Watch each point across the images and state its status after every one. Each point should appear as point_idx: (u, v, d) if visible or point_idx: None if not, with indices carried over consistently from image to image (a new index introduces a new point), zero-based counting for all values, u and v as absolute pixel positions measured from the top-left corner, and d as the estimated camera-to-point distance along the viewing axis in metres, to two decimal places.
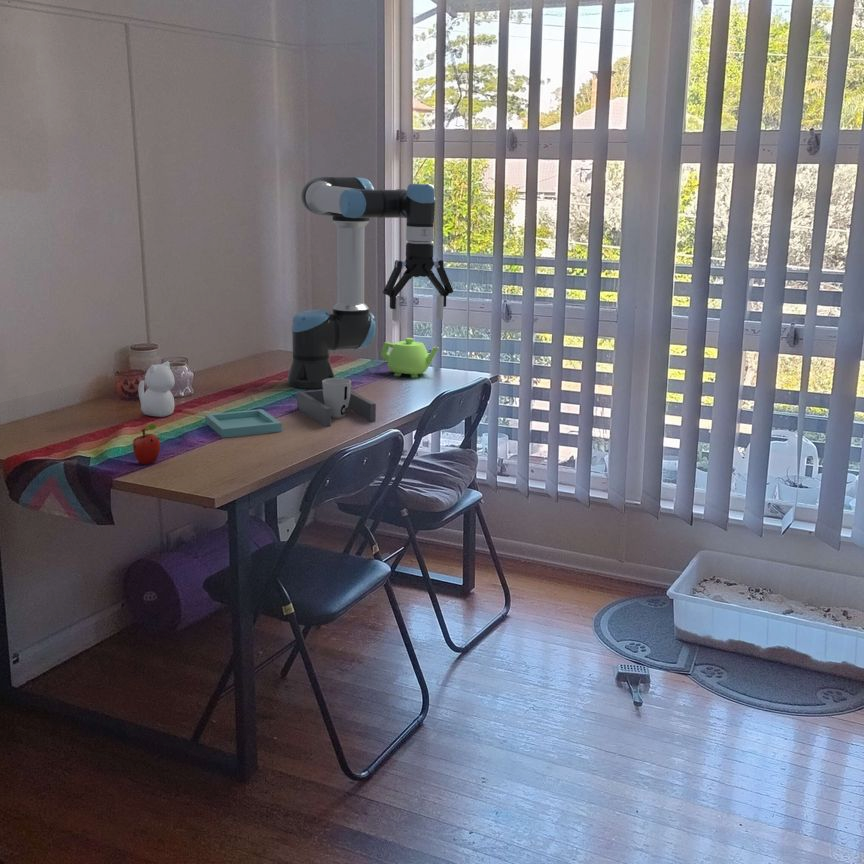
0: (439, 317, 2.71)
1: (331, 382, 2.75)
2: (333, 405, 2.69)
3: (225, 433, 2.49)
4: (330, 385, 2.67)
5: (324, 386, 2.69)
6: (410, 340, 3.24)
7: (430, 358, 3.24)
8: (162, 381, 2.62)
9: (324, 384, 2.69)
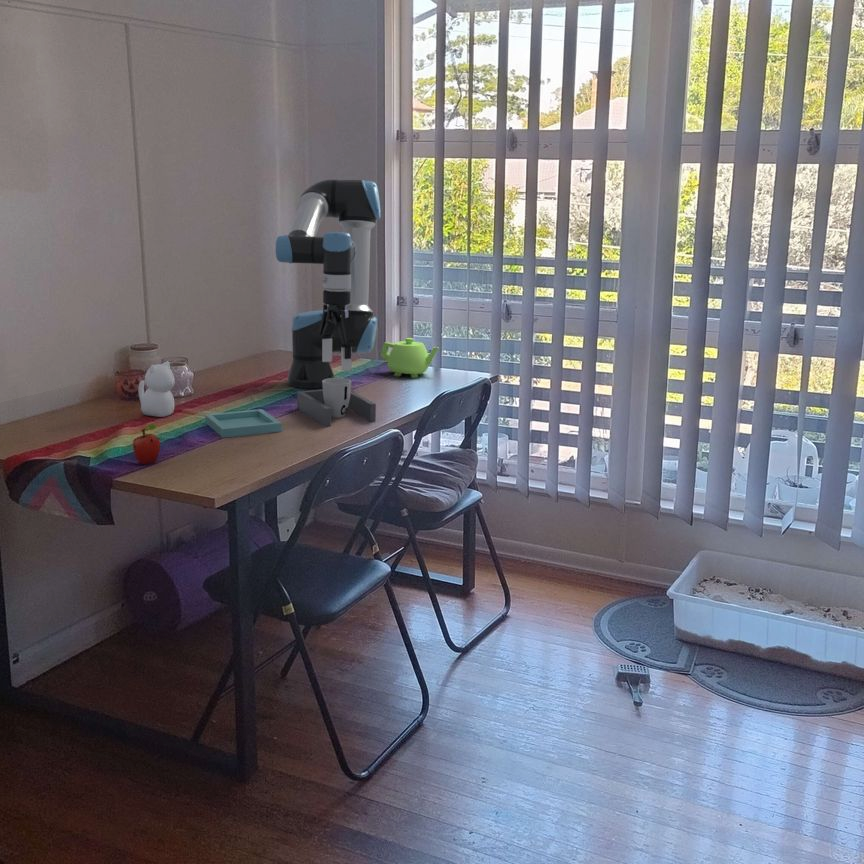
0: None
1: (331, 382, 2.75)
2: (333, 405, 2.69)
3: (225, 433, 2.49)
4: (330, 385, 2.67)
5: (324, 386, 2.69)
6: (410, 340, 3.24)
7: (430, 358, 3.24)
8: (162, 381, 2.62)
9: (324, 384, 2.69)
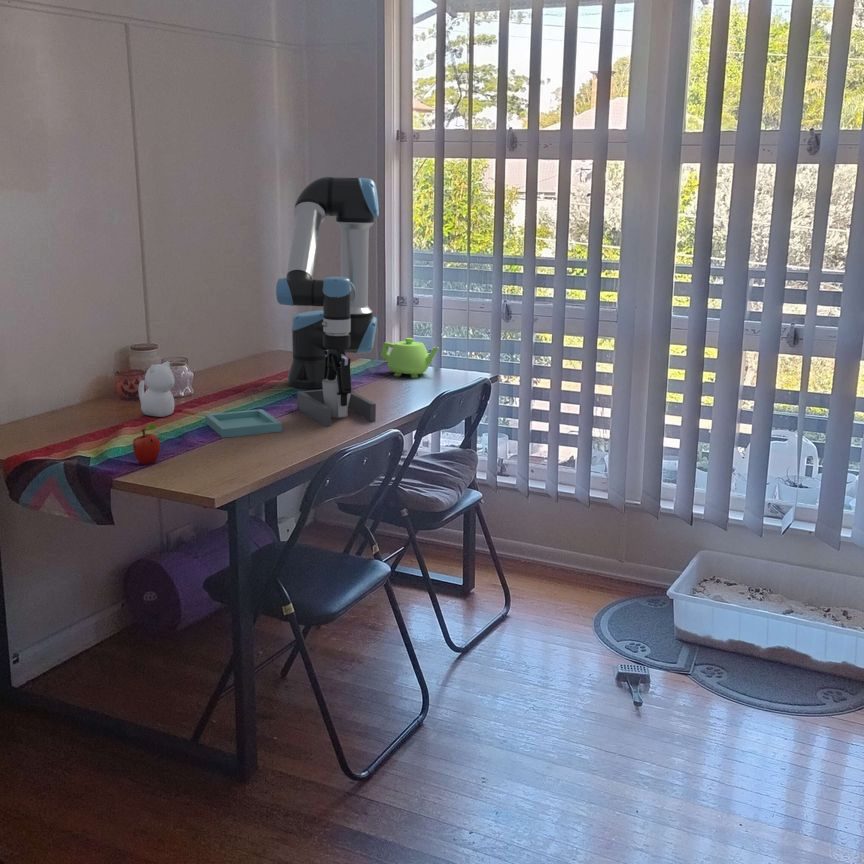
0: None
1: (331, 382, 2.75)
2: (332, 405, 2.69)
3: (225, 433, 2.49)
4: (330, 385, 2.67)
5: (324, 386, 2.69)
6: (410, 340, 3.24)
7: (430, 358, 3.24)
8: (162, 381, 2.62)
9: (324, 384, 2.69)
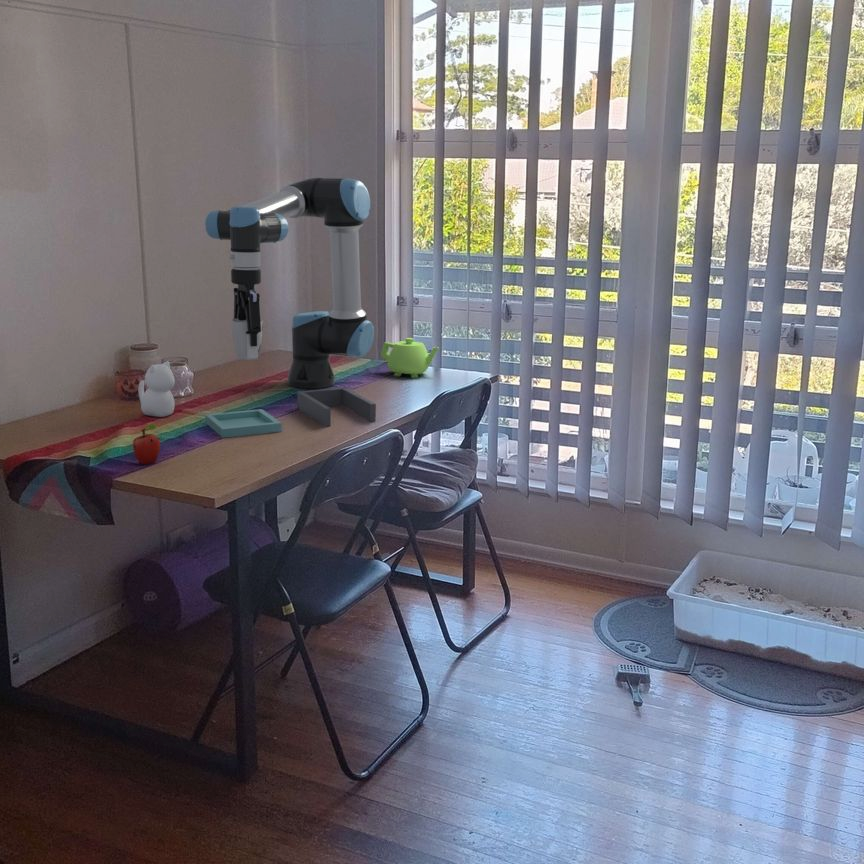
0: None
1: None
2: (242, 346, 2.50)
3: (225, 433, 2.49)
4: (239, 324, 2.49)
5: (233, 325, 2.50)
6: (410, 340, 3.24)
7: (430, 358, 3.24)
8: (162, 381, 2.62)
9: (233, 323, 2.50)
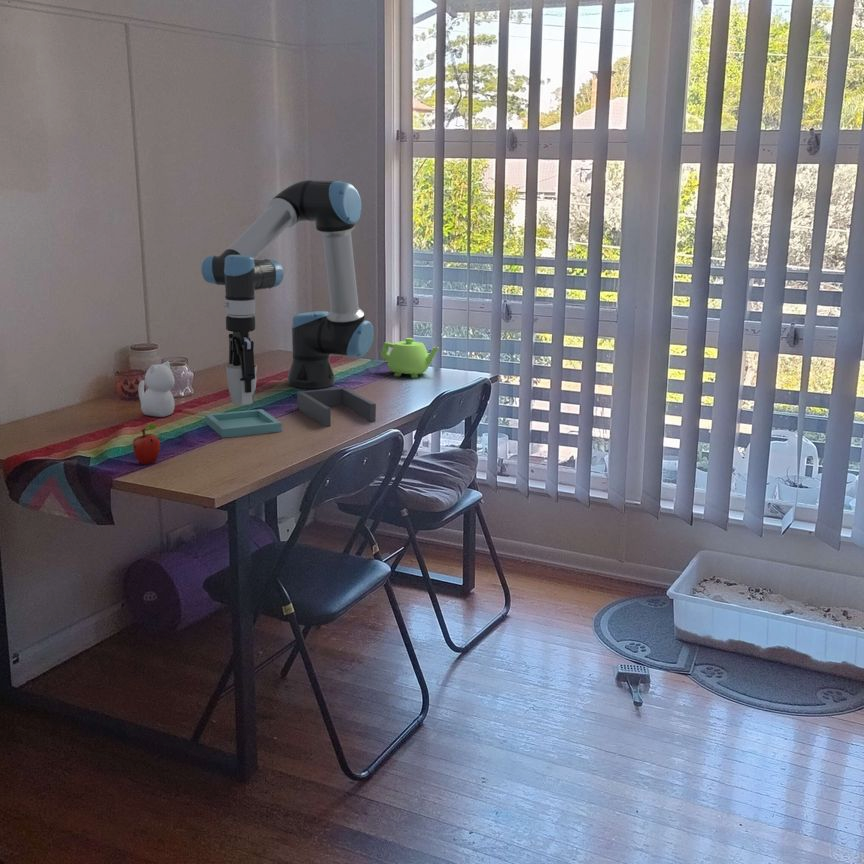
0: None
1: (237, 368, 2.58)
2: (236, 392, 2.53)
3: (225, 433, 2.49)
4: (233, 370, 2.51)
5: (227, 371, 2.53)
6: (410, 340, 3.24)
7: (430, 358, 3.24)
8: (162, 381, 2.62)
9: (227, 369, 2.52)
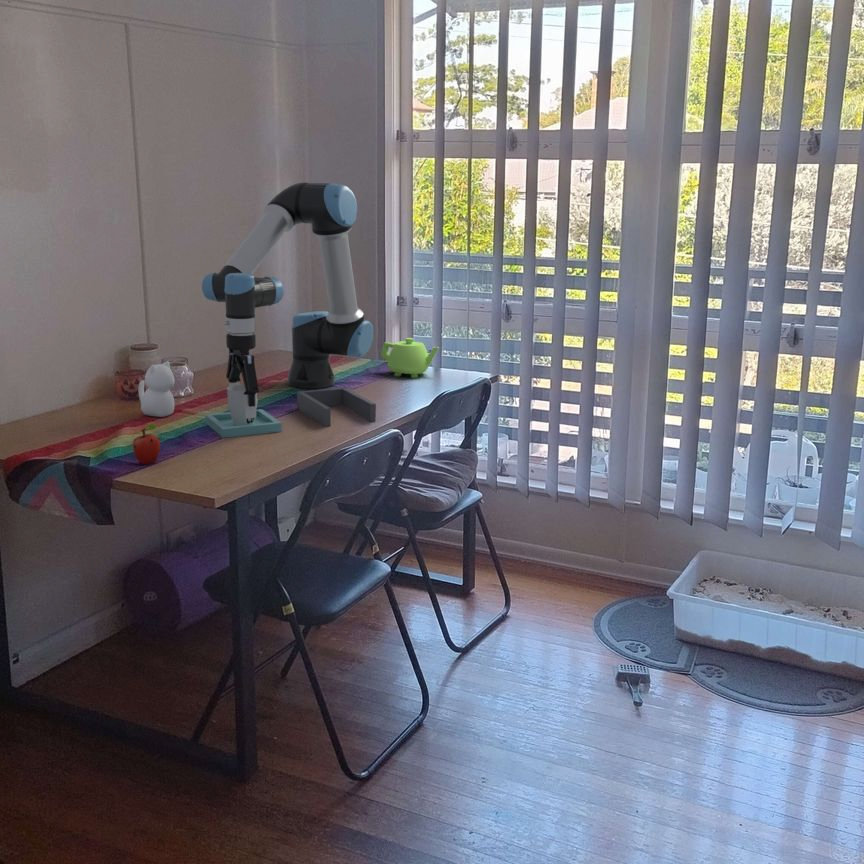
0: None
1: (238, 389, 2.60)
2: (237, 413, 2.55)
3: (225, 433, 2.49)
4: (234, 392, 2.53)
5: (228, 393, 2.54)
6: (410, 340, 3.24)
7: (430, 358, 3.24)
8: (162, 381, 2.62)
9: (228, 391, 2.54)
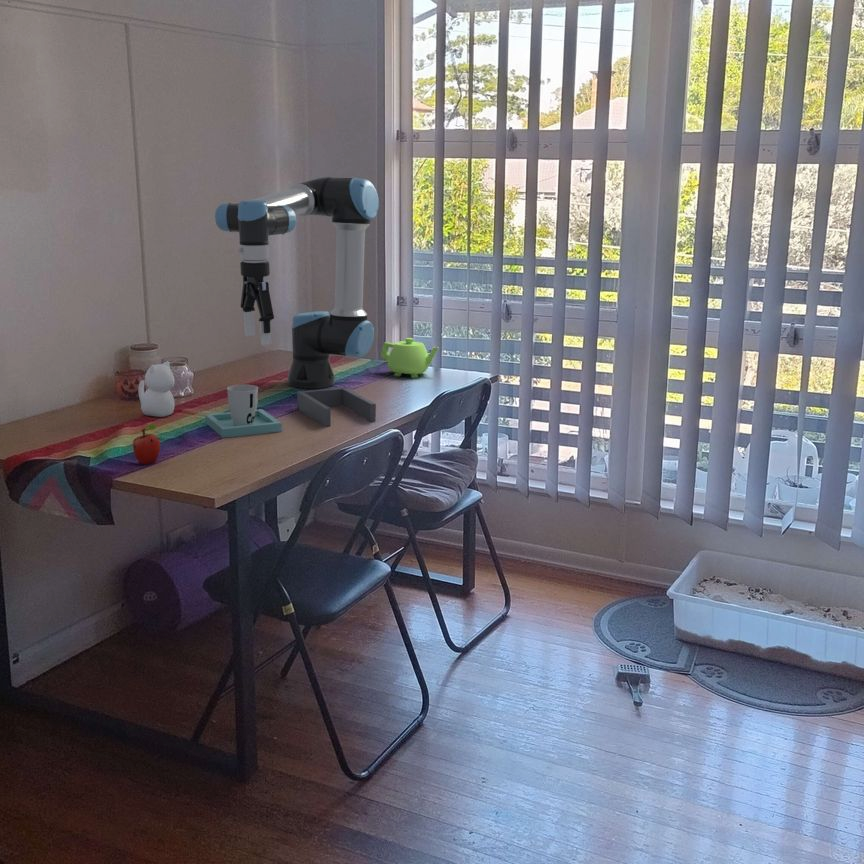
0: None
1: (238, 389, 2.60)
2: (237, 413, 2.55)
3: (225, 433, 2.49)
4: (234, 392, 2.53)
5: (228, 393, 2.54)
6: (410, 340, 3.24)
7: (430, 358, 3.24)
8: (162, 381, 2.62)
9: (228, 391, 2.54)
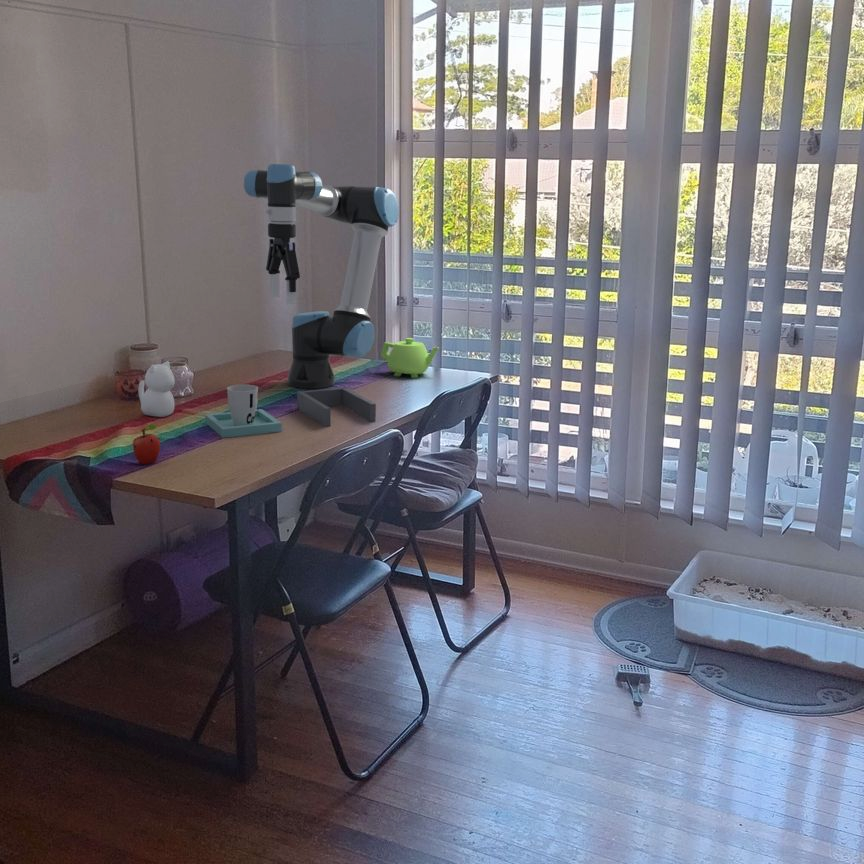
0: None
1: (238, 389, 2.60)
2: (237, 413, 2.55)
3: (225, 433, 2.49)
4: (234, 392, 2.53)
5: (228, 393, 2.54)
6: (410, 340, 3.24)
7: (430, 358, 3.24)
8: (162, 381, 2.62)
9: (228, 391, 2.54)
